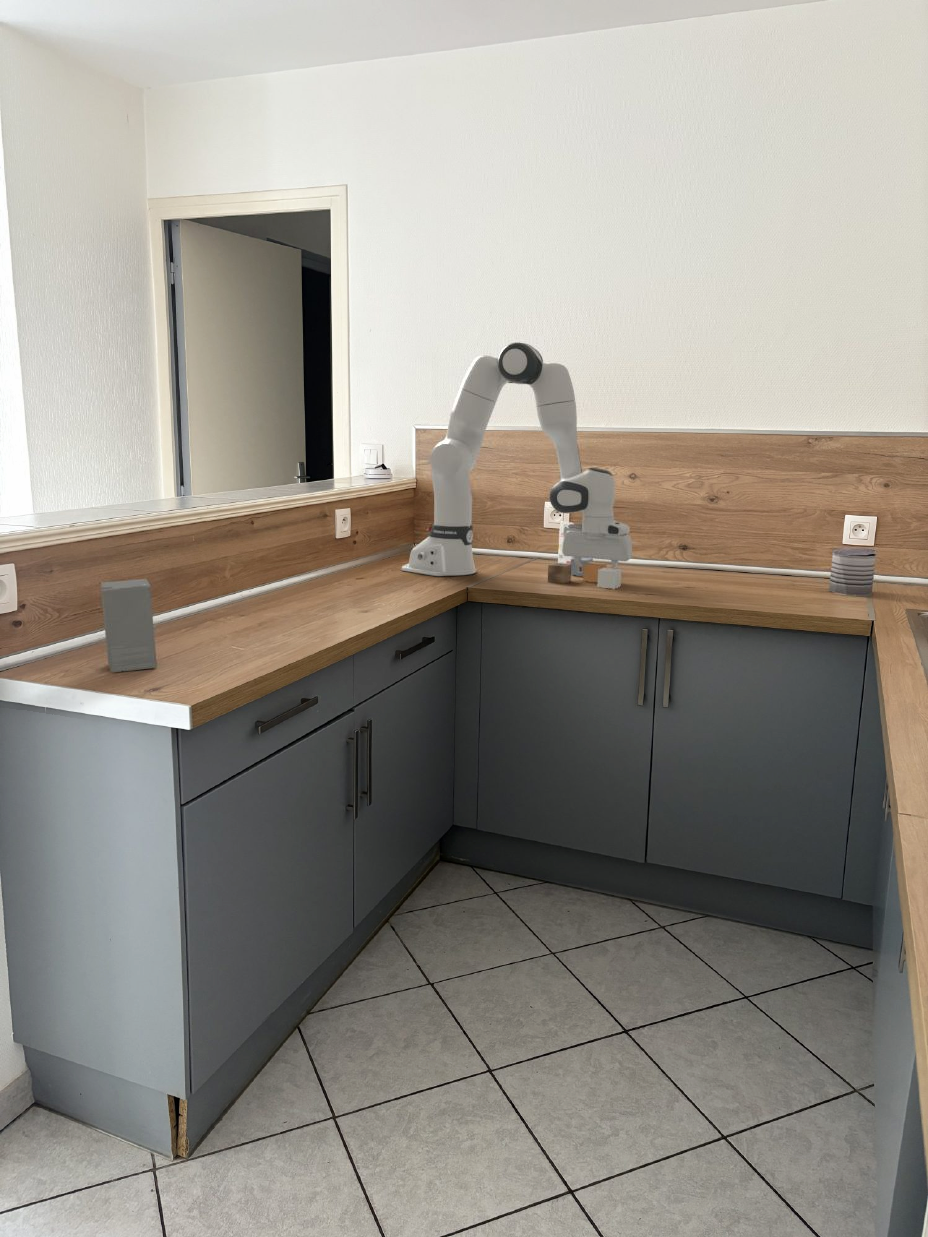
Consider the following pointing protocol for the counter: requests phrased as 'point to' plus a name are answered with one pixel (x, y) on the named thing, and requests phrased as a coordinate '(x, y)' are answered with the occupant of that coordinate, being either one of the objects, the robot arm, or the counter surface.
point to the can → (853, 571)
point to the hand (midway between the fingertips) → (595, 574)
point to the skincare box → (128, 625)
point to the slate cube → (575, 569)
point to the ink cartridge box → (560, 555)
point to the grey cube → (609, 578)
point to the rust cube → (592, 571)
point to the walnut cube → (559, 573)
